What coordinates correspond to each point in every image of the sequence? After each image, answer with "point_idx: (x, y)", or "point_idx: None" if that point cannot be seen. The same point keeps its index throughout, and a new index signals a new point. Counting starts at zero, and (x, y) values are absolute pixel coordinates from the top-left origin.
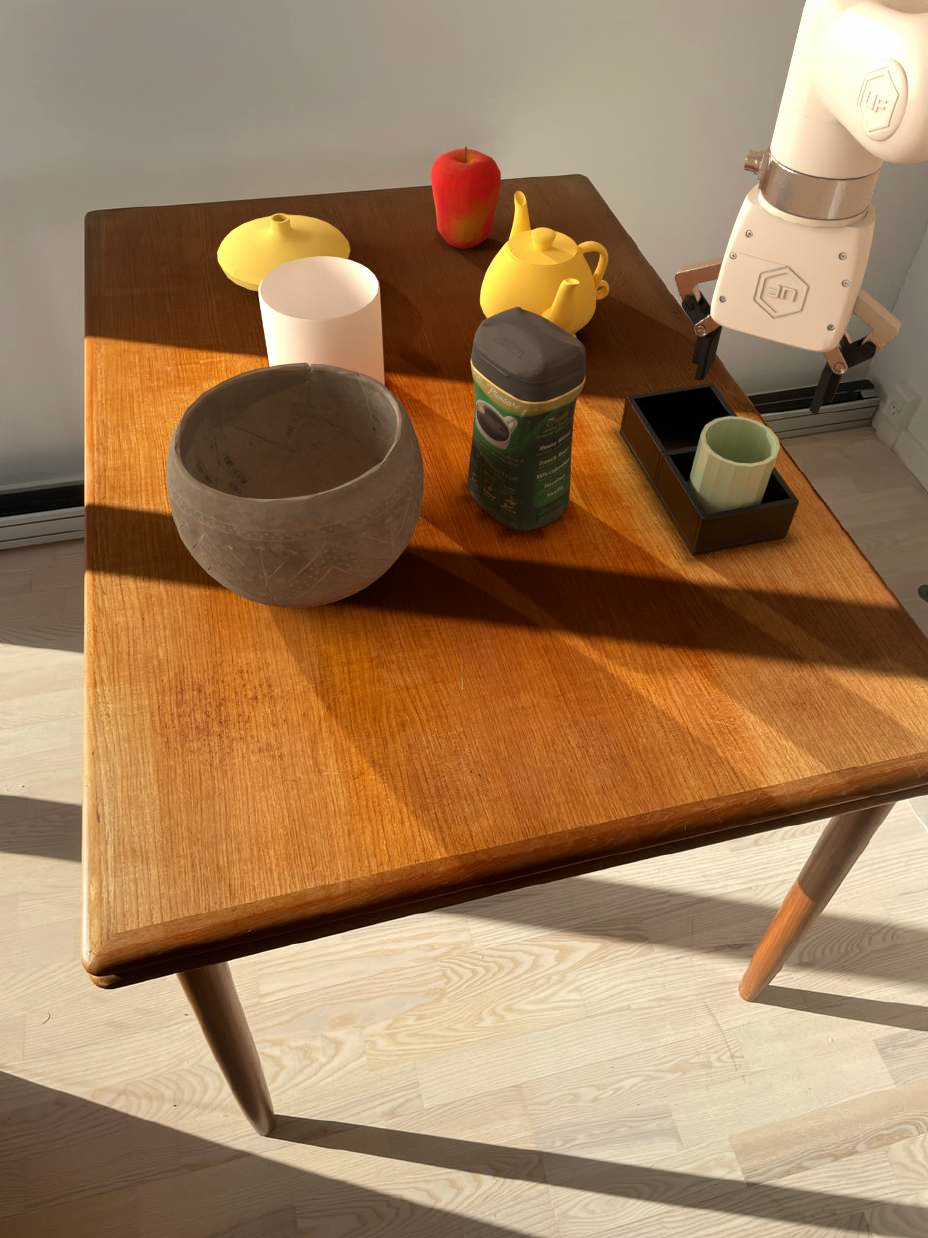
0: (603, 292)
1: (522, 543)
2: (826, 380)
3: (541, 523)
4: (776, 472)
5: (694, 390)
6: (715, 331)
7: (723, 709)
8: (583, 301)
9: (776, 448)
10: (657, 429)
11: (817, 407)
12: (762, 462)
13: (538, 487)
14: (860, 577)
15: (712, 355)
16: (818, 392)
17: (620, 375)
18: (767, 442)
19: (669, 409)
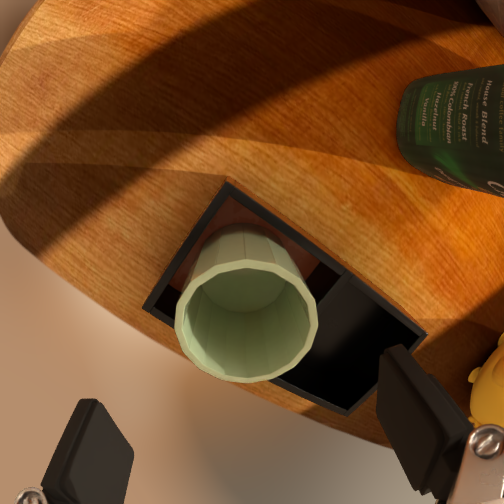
0: None
1: (400, 74)
2: (50, 469)
3: (404, 95)
4: None
5: (360, 396)
6: (432, 470)
7: (95, 20)
8: (491, 401)
9: (186, 347)
10: (370, 337)
11: (77, 409)
12: (183, 302)
13: (443, 84)
14: (72, 276)
15: (395, 419)
16: (71, 440)
17: None
18: (216, 360)
19: (372, 362)
